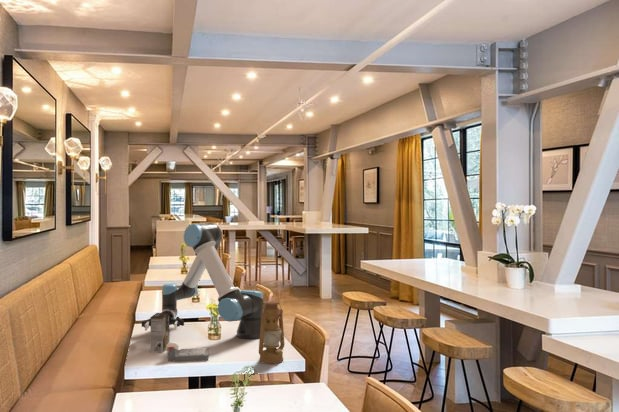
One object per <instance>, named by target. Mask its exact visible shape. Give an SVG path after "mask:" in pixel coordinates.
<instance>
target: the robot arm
mask: <svg viewBox="0 0 619 412" xmlns="http://www.w3.org/2000/svg"><path fill="white" fill-rule="evenodd" d="M222 239H223V233H222V229H221V227H219V225H217V224H215V223H213V222H204V223H199V222H197V223H191V224H189V225H188V226H187V227H186V228H185V230H184V233H183V241H184V244H185V245H186V246H187V247H190V248H191V249H192V250H193V252H194V253H195V254H196V255H195V258H194V259H193V262H192V263H191V266H190V268H189V269H188V272H187V274H186V275H185V278H184V279H183V281H182V283H181V285H177V284H176V283H164V284H163V285H162V289H161V312H160V313H169V326H170V325H173V327H174V328H173V329H174V331H177V328H178V327H180V326H181V327H183V326H185V320H184V319H182V318H180V317H179V316H178V308H177V305H178V304H177V303H178V301H179V300H180V301H181V300H184V299H185V300H186V299H190V298H192V297H195V296H196V295H197V292H198V287H197V285H198V283H199V281H200V280H201V278H202V275H203V274H204V271H207V274H208V276H209V277H210V279H211V282H212V283H213V286H214V288H215V290H216V292H217V294H218V298H217V301H218V304H217V313H218V315H219V316H220V318H222V319H223V320H224V321H227V322H230V323H231V322H237V321H239V324H238V327H237V329H236V337H237V336H238V338H240V339H247V340H249V339H250V340H251V339H260V328H261V315H262V313H263V308H264V304H263V302H264V293H263V292H262V291H261V290H260V291H259V290H252V289H251V290H249V289H244V290H240V288H238V287H235V285H234V283H233V281H232V279H231V277H230V274H229V273H228V271H227V269H226V267H225V265H224V263H223V261H222V259H221V257H220V255H219V253H218V249H219V248H220V246H221V242H222ZM141 328H144V331H147V330H148V329H150V318H148V319H146V320H145V319H144V320H143V321H141Z"/></svg>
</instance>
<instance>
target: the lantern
mask: <svg viewBox="0 0 619 412" xmlns="http://www.w3.org/2000/svg"><path fill="white" fill-rule="evenodd" d="M271 293H274V294H275V295H276V296H277V299H278V300H268V298H269V295H270V294H271ZM278 305H279V306H278ZM283 313H284V311H283V309H282V307H281V303H280V298H279V295H278V293H277V291H275V290H273V291H272V290H271V291H270V292H269V293H268V294H267V296H266V299H265V300H263V313H262V315H261V328H260V338H259V341H258V342H259V344H258V354H259V358H258V361H259V362H260V363H262V364H264V365H274V364H275V365H277V364H280V363H282V362H284V356H283V355H284V354H283V350H284V348H285V331H284V321H283V317H284V316H283ZM264 348H265V349H264Z"/></svg>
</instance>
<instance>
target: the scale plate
mask: <svg viewBox="0 0 619 412" xmlns="http://www.w3.org/2000/svg"><path fill="white" fill-rule="evenodd" d="M206 349H207V348H206V347H197V348H194V347H193V348H181V349H179V350H180V352H179V356H197V355H205V351H206Z"/></svg>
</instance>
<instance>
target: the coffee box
mask: <svg viewBox="0 0 619 412" xmlns="http://www.w3.org/2000/svg"><path fill="white" fill-rule="evenodd" d="M149 319H150V326H149V329H150V332H149V333H150V339H149V341H150V342H149V343H150V344H149V345H150V346H149V347H150V353H165V351H167V350H166V346H167V344H168V343H170V325H169V313H161V312H156V313H154V314H153V315H152V316H150V318H149Z"/></svg>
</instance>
